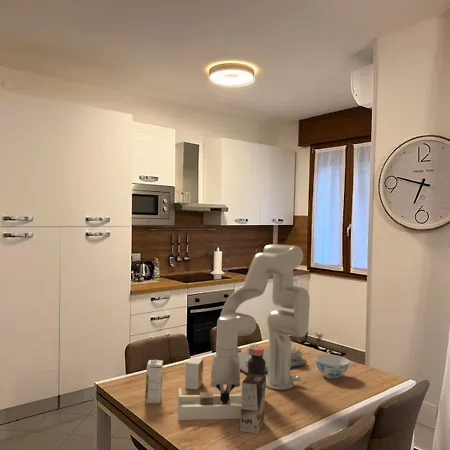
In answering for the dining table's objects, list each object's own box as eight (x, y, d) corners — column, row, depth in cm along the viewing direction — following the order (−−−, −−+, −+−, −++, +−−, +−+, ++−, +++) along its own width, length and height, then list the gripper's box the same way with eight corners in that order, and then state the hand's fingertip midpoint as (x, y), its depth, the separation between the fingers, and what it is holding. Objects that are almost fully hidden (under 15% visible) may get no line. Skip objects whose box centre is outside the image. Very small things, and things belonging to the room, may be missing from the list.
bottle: (259, 405, 159) (261, 352, 159) (243, 400, 163) (245, 348, 163) (267, 399, 165) (269, 347, 165) (251, 394, 169) (253, 344, 169)
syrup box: (146, 397, 163) (147, 359, 163) (161, 397, 163) (163, 359, 163) (144, 403, 157) (146, 364, 157) (160, 403, 158) (162, 364, 157)
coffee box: (258, 434, 137) (260, 385, 137) (239, 431, 139) (241, 382, 139) (264, 422, 146) (266, 375, 146) (246, 419, 148) (248, 373, 148)
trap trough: (253, 406, 158) (253, 386, 158) (258, 418, 149) (259, 396, 149) (177, 407, 155) (178, 387, 155) (178, 419, 145) (178, 398, 145)
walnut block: (212, 403, 154) (212, 392, 154) (213, 408, 149) (213, 397, 149) (199, 403, 153) (200, 392, 153) (200, 409, 149) (200, 397, 149)
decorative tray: (276, 352, 228) (276, 333, 228) (309, 366, 206) (310, 346, 206) (220, 361, 210) (221, 341, 210) (250, 378, 188) (251, 356, 188)
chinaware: (311, 379, 189) (312, 361, 189) (317, 368, 203) (318, 352, 203) (346, 385, 183) (347, 367, 183) (350, 374, 197) (350, 357, 197)
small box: (197, 390, 172) (198, 364, 172) (184, 388, 173) (185, 362, 173) (202, 383, 179) (203, 358, 179) (190, 381, 181) (191, 356, 180)
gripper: (245, 348, 157) (243, 398, 157) (204, 348, 155) (203, 398, 155) (249, 354, 149) (247, 406, 149) (206, 355, 147) (204, 407, 147)
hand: (224, 402), depth 152 cm, fingers closed
